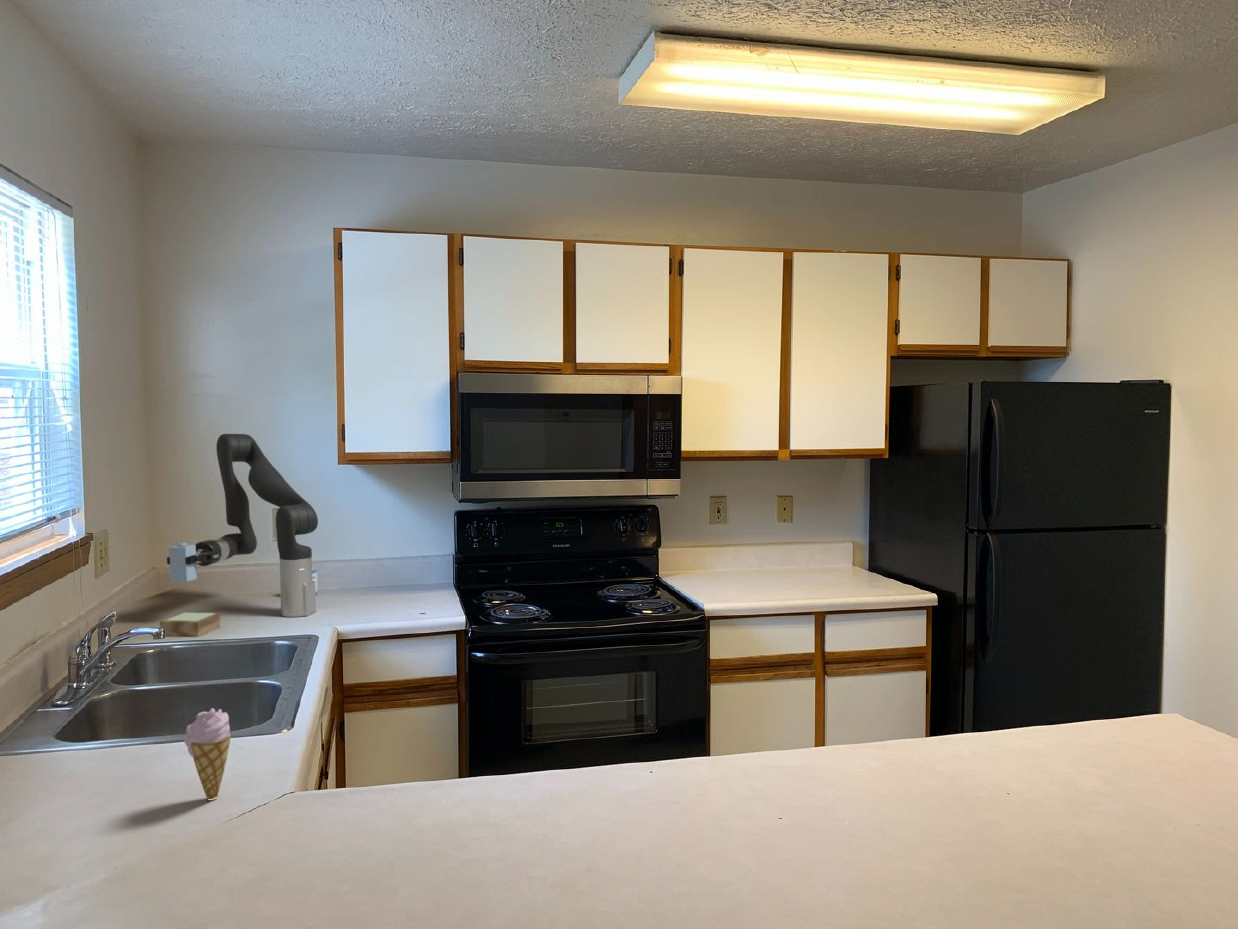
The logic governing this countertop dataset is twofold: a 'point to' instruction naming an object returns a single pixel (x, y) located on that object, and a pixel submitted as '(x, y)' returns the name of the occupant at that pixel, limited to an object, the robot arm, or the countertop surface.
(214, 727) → the ice cream cone
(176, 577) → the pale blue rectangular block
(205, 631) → the walnut base block
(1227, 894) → the countertop surface
